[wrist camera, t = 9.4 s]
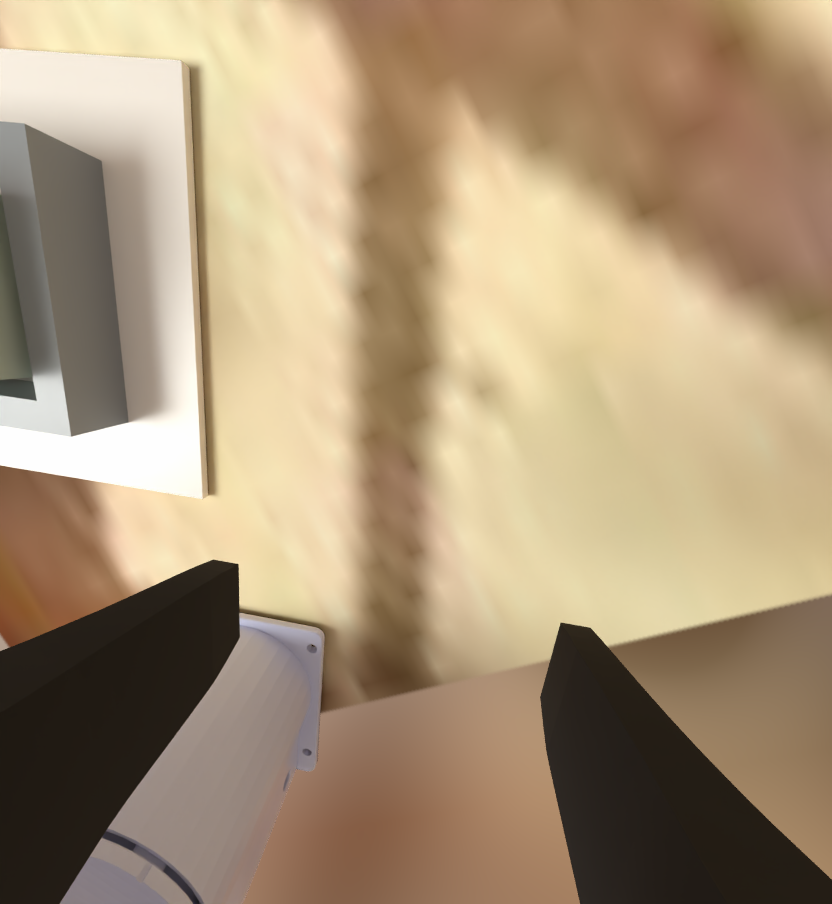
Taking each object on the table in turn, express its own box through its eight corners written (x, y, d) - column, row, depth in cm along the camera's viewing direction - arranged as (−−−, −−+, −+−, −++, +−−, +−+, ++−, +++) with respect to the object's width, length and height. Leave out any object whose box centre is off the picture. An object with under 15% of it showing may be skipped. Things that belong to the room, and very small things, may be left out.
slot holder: (208, 495, 18) (159, 525, 15) (-59, 451, 19) (-151, 471, 16) (189, 68, 13) (113, -6, 10) (-162, 44, 15) (-315, -27, 12)
